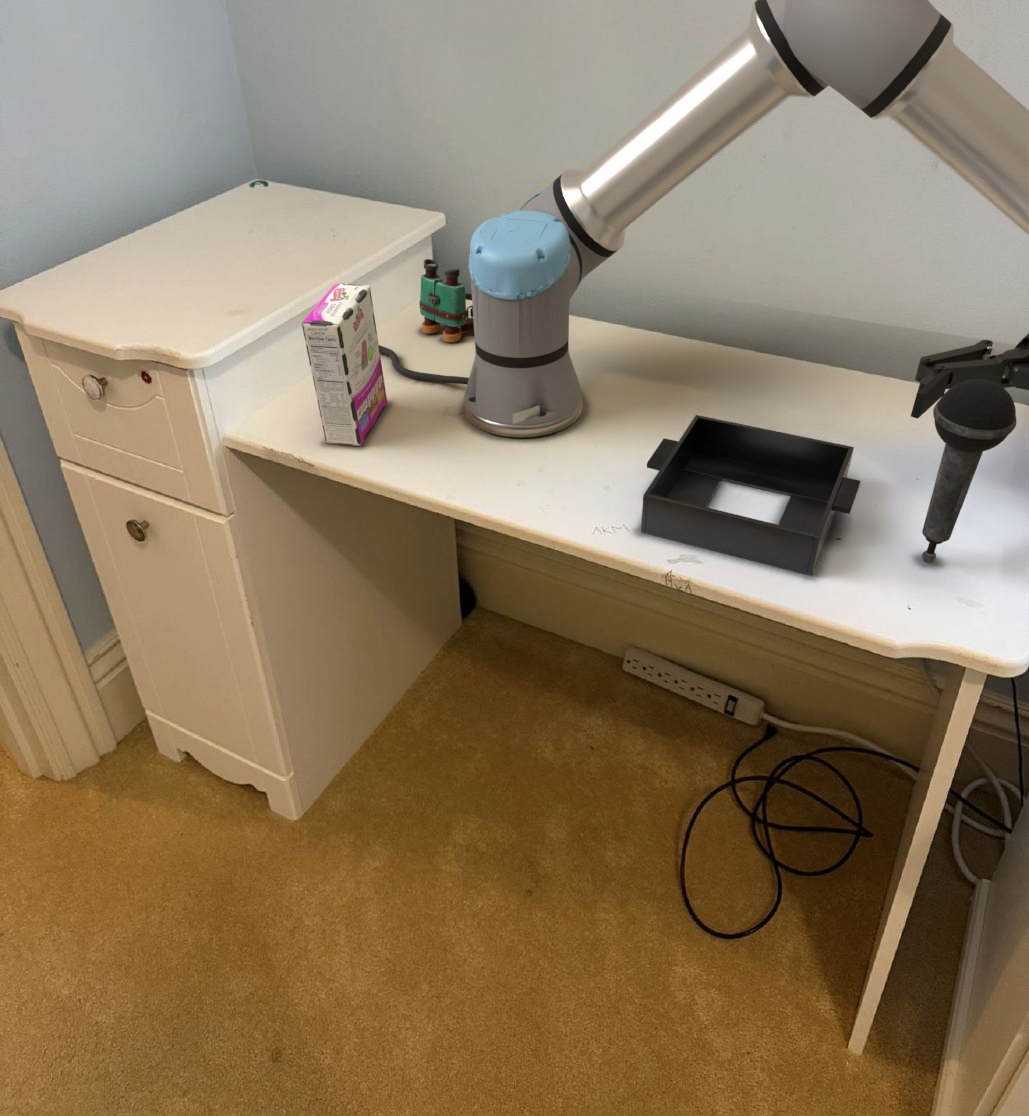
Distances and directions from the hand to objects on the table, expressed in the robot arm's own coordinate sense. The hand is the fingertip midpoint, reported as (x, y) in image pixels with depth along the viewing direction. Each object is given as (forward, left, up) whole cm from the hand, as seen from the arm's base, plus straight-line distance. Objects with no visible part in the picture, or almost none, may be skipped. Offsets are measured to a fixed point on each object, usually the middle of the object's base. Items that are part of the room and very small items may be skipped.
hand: (986, 428), depth 88 cm
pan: (-21, -4, -13) cm, 25 cm away
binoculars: (-73, +24, -13) cm, 78 cm away
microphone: (-2, -6, -13) cm, 14 cm away
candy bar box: (-71, -6, -13) cm, 72 cm away
